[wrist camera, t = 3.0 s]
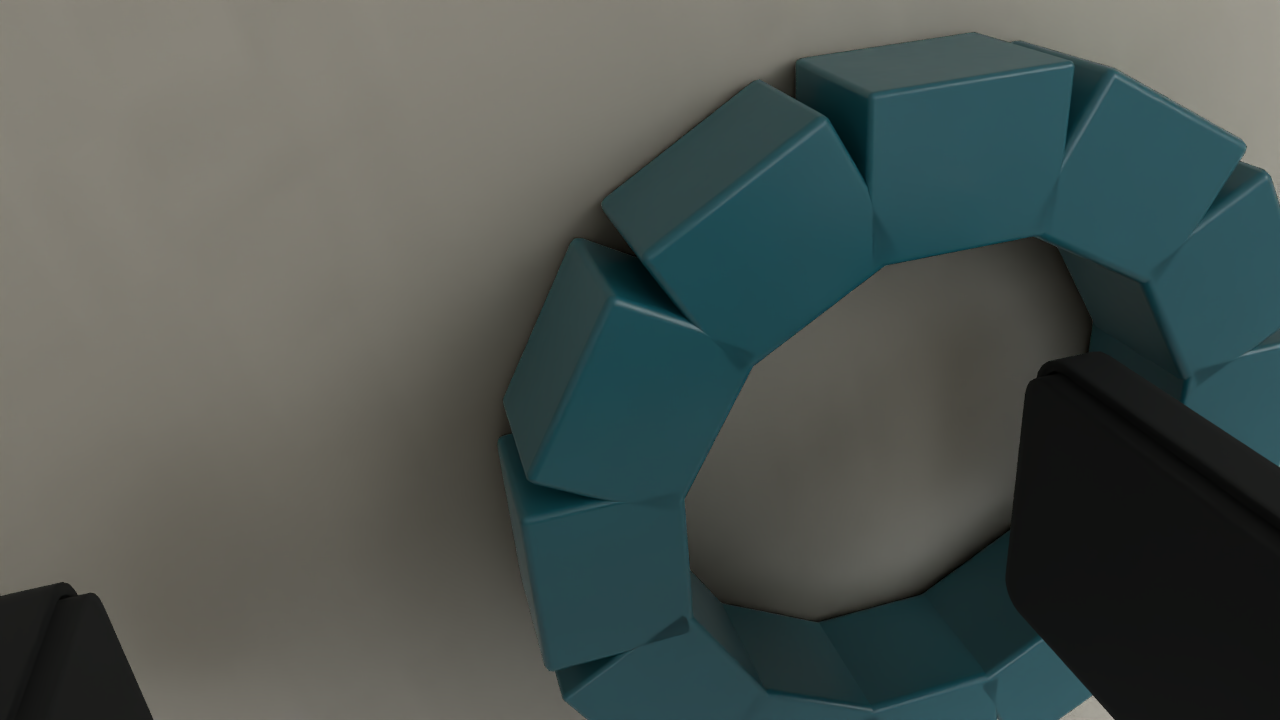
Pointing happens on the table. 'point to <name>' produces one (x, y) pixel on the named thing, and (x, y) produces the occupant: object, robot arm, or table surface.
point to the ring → (804, 289)
